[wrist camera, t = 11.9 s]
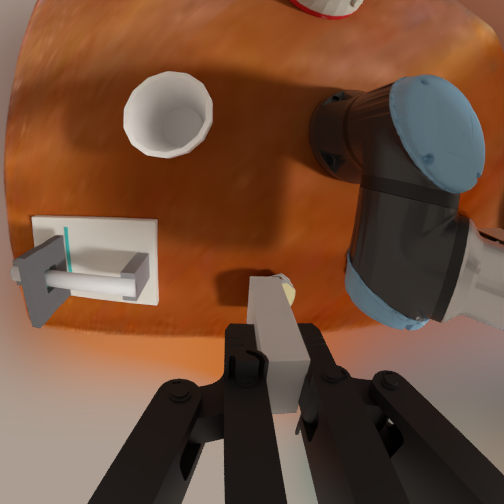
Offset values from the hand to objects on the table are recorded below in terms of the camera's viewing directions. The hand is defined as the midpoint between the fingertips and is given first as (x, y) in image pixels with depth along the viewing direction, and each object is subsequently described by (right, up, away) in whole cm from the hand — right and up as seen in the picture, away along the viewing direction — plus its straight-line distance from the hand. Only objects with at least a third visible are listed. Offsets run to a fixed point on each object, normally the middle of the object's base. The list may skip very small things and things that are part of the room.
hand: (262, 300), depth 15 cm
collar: (-30, 0, +22) cm, 37 cm away
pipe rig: (-27, +2, +27) cm, 38 cm away
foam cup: (-11, +21, +22) cm, 32 cm away
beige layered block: (+2, -3, +32) cm, 32 cm away
